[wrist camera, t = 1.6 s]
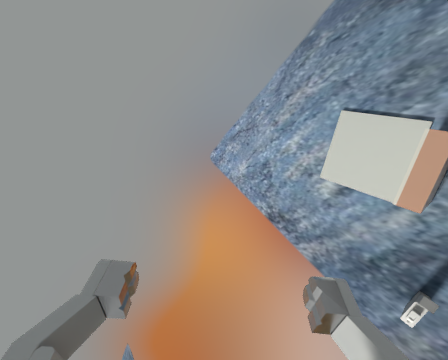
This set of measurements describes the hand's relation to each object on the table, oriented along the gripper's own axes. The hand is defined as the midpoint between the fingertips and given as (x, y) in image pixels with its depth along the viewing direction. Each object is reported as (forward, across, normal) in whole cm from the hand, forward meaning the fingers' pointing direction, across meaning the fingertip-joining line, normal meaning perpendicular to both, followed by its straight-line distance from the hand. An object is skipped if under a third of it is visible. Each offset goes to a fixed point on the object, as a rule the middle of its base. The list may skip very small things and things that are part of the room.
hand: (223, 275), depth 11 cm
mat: (+32, -27, +8) cm, 43 cm away
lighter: (+15, -35, +24) cm, 45 cm away
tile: (+25, -33, +6) cm, 42 cm away
